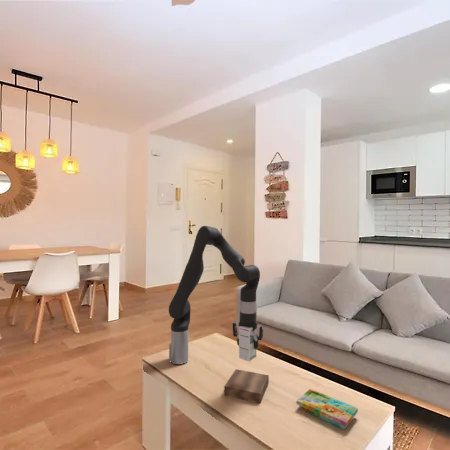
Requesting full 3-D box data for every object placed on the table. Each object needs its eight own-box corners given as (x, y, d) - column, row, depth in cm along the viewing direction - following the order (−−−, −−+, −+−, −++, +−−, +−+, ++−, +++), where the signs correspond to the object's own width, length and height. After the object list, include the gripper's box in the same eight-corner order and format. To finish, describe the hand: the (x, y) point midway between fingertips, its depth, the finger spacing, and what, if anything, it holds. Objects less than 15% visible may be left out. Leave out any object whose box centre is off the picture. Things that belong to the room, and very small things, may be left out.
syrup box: (249, 362, 134) (250, 328, 133) (238, 358, 137) (238, 325, 137) (256, 357, 138) (256, 325, 138) (245, 353, 142) (245, 322, 142)
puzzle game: (346, 420, 111) (296, 398, 124) (346, 433, 111) (296, 410, 124) (357, 406, 119) (309, 386, 133) (357, 418, 119) (309, 397, 133)
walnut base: (224, 395, 133) (224, 386, 133) (235, 377, 148) (235, 369, 148) (260, 403, 128) (260, 393, 128) (268, 383, 143) (268, 375, 143)
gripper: (230, 310, 136) (229, 348, 137) (262, 314, 131) (261, 353, 132) (235, 306, 143) (234, 341, 144) (265, 309, 138) (265, 346, 139)
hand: (247, 347), depth 138 cm, fingers closed on syrup box, 6 cm apart
